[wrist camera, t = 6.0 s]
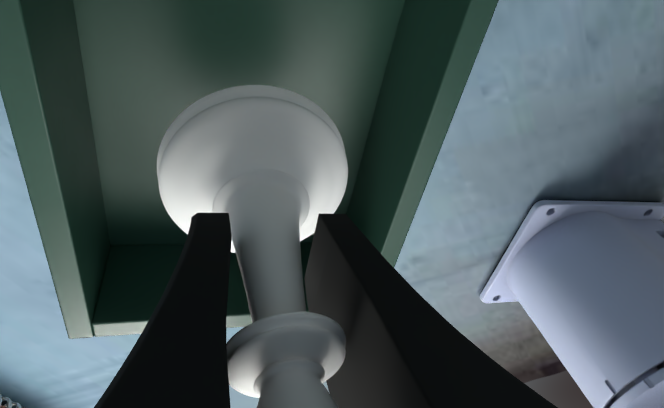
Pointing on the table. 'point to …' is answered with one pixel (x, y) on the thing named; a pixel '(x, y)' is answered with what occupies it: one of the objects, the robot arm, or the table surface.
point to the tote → (195, 83)
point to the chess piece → (264, 226)
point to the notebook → (9, 403)
